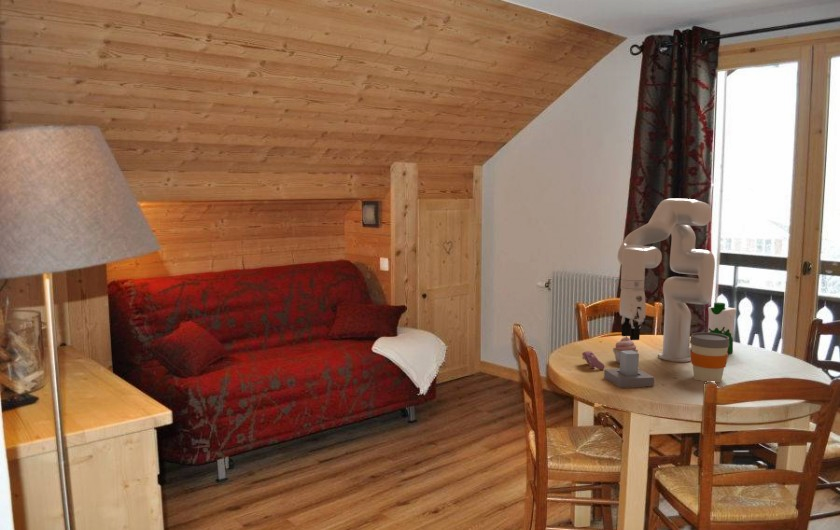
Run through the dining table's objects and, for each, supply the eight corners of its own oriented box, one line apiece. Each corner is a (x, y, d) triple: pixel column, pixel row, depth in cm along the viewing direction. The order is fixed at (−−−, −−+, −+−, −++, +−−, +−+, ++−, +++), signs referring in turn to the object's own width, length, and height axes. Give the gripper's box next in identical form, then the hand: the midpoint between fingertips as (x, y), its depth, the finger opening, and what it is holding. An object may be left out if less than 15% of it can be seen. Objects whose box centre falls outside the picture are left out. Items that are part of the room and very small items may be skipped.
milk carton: (703, 351, 275) (705, 302, 272) (716, 348, 280) (719, 300, 277) (723, 355, 267) (726, 305, 265) (736, 352, 272) (739, 303, 270)
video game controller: (585, 367, 256) (578, 351, 255) (596, 361, 256) (588, 345, 255) (595, 374, 246) (587, 358, 245) (606, 368, 246) (598, 352, 245)
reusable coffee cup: (708, 385, 228) (710, 341, 226) (680, 375, 240) (682, 333, 238) (735, 381, 233) (738, 338, 231) (706, 372, 245) (709, 331, 243)
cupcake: (624, 366, 251) (625, 340, 250) (606, 360, 260) (607, 335, 258) (643, 363, 256) (644, 337, 254) (625, 357, 264) (626, 332, 263)
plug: (631, 378, 235) (632, 350, 234) (637, 382, 230) (638, 353, 229) (619, 379, 234) (620, 350, 233) (625, 383, 230) (626, 354, 228)
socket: (636, 376, 239) (636, 367, 239) (653, 386, 227) (654, 377, 227) (604, 377, 237) (604, 369, 237) (620, 387, 225) (620, 379, 225)
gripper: (656, 288, 220) (653, 343, 223) (630, 280, 237) (628, 332, 239) (634, 288, 219) (632, 344, 221) (610, 281, 236) (608, 332, 238)
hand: (630, 337), depth 230 cm, fingers open, 5 cm apart
